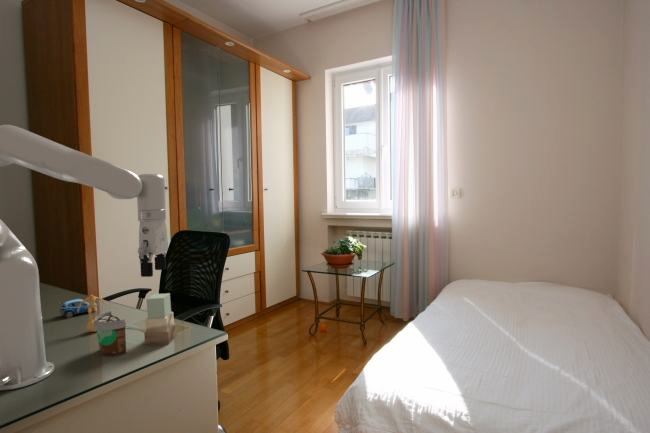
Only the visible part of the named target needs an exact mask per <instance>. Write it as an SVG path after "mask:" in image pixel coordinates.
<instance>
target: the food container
mask: <svg viewBox="0 0 650 433" xmlns="http://www.w3.org/2000/svg"><path fill="white" fill-rule="evenodd" d="M96 316H97V317H96V318H95V317H94V319H95V320H94V325H93V328H95V329H96V330H97V331H96V333H97V340H98V347H99V352H100V355H101V356H104V357H114V356H120V355H121V356H122V355H124V354H127V341H126V327H127V324H126V319H120V318H119V317H117V316H114V315H112V311H107V312H104V313H101V314H99V315H96Z"/></svg>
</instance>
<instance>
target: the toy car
mask: <svg viewBox="0 0 650 433" xmlns="http://www.w3.org/2000/svg"><path fill="white" fill-rule="evenodd" d="M83 300H84V299H82V298H75V299H72V300H68V301H65V302H64V303H63V302H59V301H58V302H57V303H58V305H59V306H60V309H59V311H58V313H59V314H60V315H62V316H65V318H67V319H70V318H73V317H74V315H80V314H83V313H88V308H87V307H88V306H89V307H90V304H89V303H88V301H85V302H83V303H82V304H81V307H80V308H79V312H77V311H78V307H79V305H80V302H82V301H83ZM94 305H97V303H96V302H95V303H94ZM98 306H99V305H97V310H99V308H98ZM91 309H92V311H91V314H93V313H95V311H94V310H93V308H91Z"/></svg>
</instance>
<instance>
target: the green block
mask: <svg viewBox="0 0 650 433" xmlns="http://www.w3.org/2000/svg"><path fill="white" fill-rule="evenodd" d="M171 303H172V302H171V293H170V292H167V293H153V294H152V295H150V296H149V297H147V298H146V310H147V318H148V319H152V318H165V317H167V316H168V315H169V314H170V313H171V312H172V307H171V306H172V304H171Z"/></svg>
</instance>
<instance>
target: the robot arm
mask: <svg viewBox="0 0 650 433" xmlns="http://www.w3.org/2000/svg"><path fill="white" fill-rule="evenodd" d="M13 164H15V165H18V166H21V167H23V168H26V169H27V168H28V169H30V170H33V171H36V172H38V173H41V174H44V175H46V176H48V177H52V178H54V179H57V180H61V181H64V182H68V183H76V184H80V185H84V186H88V187H91V188H94V189H97V190H99V191H102V192H105V193H107V195H108V196H110V197H111V198H113V199H115V200H116V199H117V200H132V199H135V198H136V199H137V200H136V202H137V221H138V222H139V226H138V249H137V253H138V258H139V264H140V277H142V278H152V277H153V276H154V270H155V271H165V270H166V269H167V262H166V261H167V260H166V259H167V258H166V256H167V253H166V252H168V249H169V243H168V242H169V241H168V232H167V231H168V230H167V224H166V221H167V217H166V216H167V215H166V213H167V212H166V188H165V187H166V185H165V177H164V176H163V175H162V174H157V173H143V174H142V173H141V174H139V175H137V174H135V172H132V171H130V170H128V169H125V168H123V167H121V166H118V165H116V164H113V163H111V162H108V161H105V160H103V159H101V158H97V157H95V156H92V155H88V154H86V153H85V152H82V151H79V150H76V149H75V148H74V149H73V148H71V147H68V146H65V145H64V144H61V143H58V142H56V141H53V140H51V139H49V138H46V137H44V136H41V135H39V134H36V133H34V132H31V131H30V130H27V129H26V128H25V129H24V128H22V127H19V126H16V125H12V124H2V125H0V168H1V167H6V166H9V165H13ZM154 255H155V257H154V263H153V262H152V260H153V256H154ZM153 264H154V265H153ZM153 266H154V267H153ZM40 293H41V292H40V274H39V268H38V264H37V262H36V259H35V257H34V256H33V254H31V252H30V251H29V250H28V249H27V248H26V247H25V245H24V244H23V243H22V242H21V241H20V240H19V238H18V237H17V236H16V235H15V234H14V233H13V232H12V231H11V229H10V228H9V227H8V225H6V224H5V222H4V221H3V219H0V391H9V390H15V389H16V390H17V389H19V388H23V387H27V386H29V385H33V384H35V383H38V382H40V381H42V380H44V379H46V378H48V377H49V376H51V375H52V374H53V372H54V371H55V363H53V362H51V361H47V358H46V347H45V334H44V324H43V323H44V322H43V313H42V305H41V294H40Z"/></svg>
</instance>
